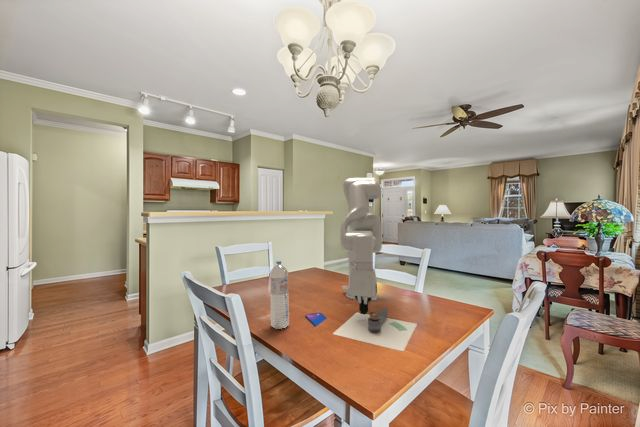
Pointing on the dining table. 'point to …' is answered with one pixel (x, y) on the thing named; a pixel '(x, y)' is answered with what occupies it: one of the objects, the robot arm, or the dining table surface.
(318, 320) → the smartphone
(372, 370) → the dining table surface
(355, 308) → the dining table surface
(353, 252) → the robot arm
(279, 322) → the water bottle
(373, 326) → the grey lever handle
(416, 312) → the dining table surface
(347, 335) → the dial plate
